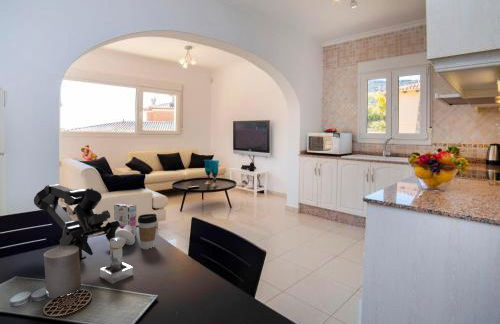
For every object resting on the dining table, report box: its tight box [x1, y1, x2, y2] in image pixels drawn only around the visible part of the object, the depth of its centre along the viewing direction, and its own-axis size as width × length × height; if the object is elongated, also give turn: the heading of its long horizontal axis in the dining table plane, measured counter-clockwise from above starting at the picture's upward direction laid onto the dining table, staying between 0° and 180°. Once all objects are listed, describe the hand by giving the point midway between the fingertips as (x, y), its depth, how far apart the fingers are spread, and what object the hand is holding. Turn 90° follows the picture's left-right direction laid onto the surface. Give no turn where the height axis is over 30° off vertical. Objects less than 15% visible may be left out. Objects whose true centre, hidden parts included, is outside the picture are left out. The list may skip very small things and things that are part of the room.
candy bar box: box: [113, 202, 137, 238], centre depth 147 cm, size 11×5×16 cm, turn 62°
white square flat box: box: [99, 261, 134, 284], centre depth 106 cm, size 8×8×3 cm
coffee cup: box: [137, 213, 158, 250], centre depth 134 cm, size 8×8×15 cm
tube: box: [109, 237, 123, 273], centre depth 106 cm, size 4×4×13 cm
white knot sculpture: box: [106, 225, 136, 248], centre depth 135 cm, size 11×12×9 cm
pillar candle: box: [43, 245, 82, 299], centre depth 95 cm, size 10×10×15 cm
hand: (103, 250), depth 109 cm, fingers open, 9 cm apart
